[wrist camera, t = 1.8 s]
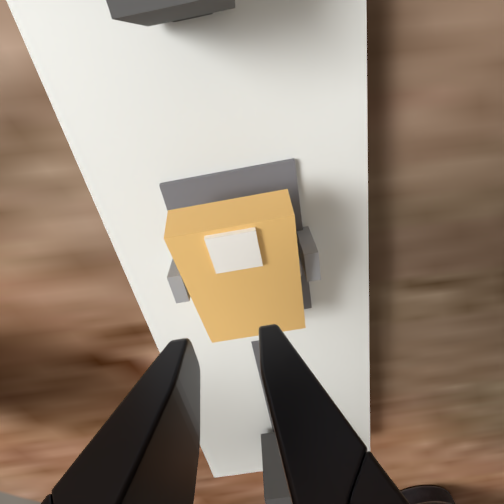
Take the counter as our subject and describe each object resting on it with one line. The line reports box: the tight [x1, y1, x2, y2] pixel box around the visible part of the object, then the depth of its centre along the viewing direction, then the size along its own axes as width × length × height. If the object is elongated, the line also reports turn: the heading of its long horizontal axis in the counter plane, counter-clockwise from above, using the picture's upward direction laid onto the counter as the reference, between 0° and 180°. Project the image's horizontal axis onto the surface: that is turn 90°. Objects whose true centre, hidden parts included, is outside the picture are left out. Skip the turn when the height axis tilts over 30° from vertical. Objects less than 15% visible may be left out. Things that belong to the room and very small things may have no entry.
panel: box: [6, 0, 370, 478], centre depth 18 cm, size 12×35×4 cm, turn 10°
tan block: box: [164, 189, 306, 343], centre depth 15 cm, size 5×7×2 cm
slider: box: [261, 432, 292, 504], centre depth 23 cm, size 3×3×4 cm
